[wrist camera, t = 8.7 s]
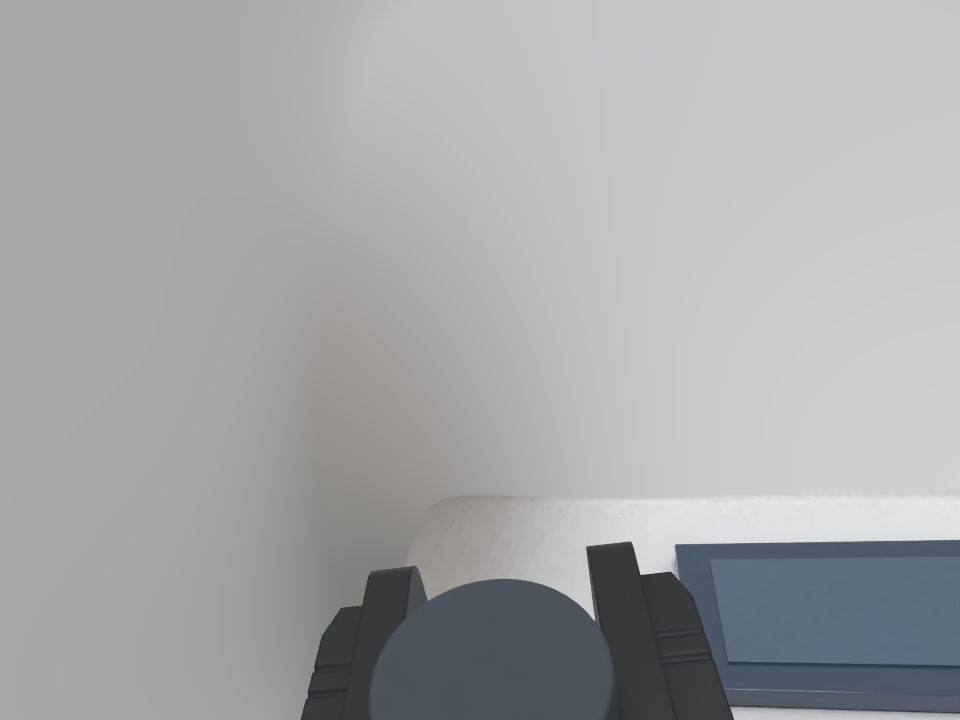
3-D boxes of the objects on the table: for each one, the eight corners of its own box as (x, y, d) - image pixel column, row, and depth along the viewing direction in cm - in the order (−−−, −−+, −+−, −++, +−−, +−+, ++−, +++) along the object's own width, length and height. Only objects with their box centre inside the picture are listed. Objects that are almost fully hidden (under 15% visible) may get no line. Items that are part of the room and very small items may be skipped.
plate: (693, 705, 28) (692, 686, 28) (675, 558, 35) (674, 541, 35) (1096, 717, 25) (1105, 696, 25) (990, 555, 32) (995, 536, 32)
